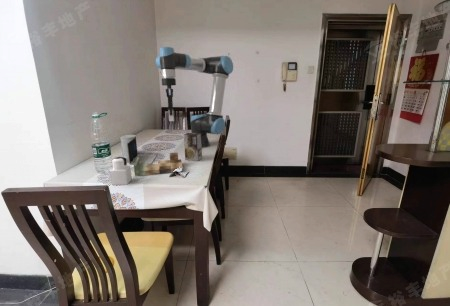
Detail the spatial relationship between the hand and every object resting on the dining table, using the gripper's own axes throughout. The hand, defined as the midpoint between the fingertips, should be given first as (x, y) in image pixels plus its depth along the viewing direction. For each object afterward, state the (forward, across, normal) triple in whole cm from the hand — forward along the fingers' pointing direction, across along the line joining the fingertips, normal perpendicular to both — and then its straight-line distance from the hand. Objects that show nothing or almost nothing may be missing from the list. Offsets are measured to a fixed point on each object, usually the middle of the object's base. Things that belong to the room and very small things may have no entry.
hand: (171, 120), depth 136 cm
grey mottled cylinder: (+25, -22, -28) cm, 44 cm away
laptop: (+25, -8, -18) cm, 32 cm away
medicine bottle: (+25, +26, -25) cm, 44 cm away
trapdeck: (+24, +12, -8) cm, 29 cm away
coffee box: (+25, -2, +12) cm, 27 cm away
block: (+22, +8, 0) cm, 23 cm away
